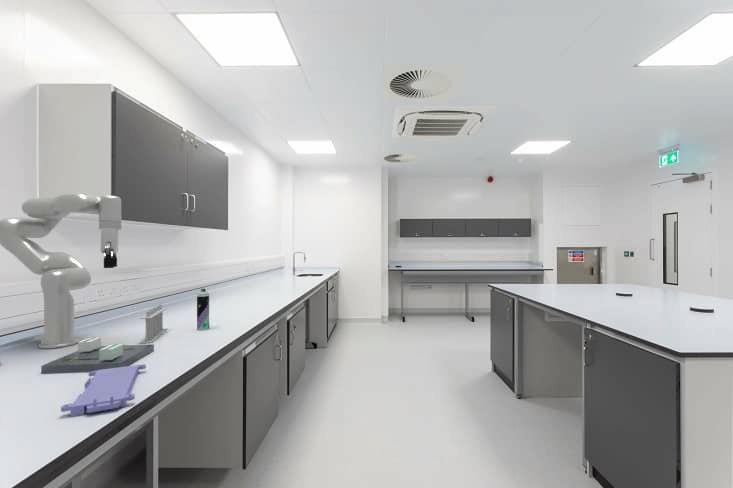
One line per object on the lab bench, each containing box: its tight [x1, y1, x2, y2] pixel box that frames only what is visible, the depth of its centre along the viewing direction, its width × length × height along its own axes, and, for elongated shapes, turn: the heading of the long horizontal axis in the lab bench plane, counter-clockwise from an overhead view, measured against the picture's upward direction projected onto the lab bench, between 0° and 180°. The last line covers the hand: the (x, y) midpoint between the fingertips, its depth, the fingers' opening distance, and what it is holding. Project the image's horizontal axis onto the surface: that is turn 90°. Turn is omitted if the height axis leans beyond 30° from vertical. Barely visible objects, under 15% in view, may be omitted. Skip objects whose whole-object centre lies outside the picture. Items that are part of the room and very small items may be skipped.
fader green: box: [99, 343, 124, 360], centre depth 121 cm, size 4×6×4 cm, turn 5°
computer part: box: [60, 363, 147, 417], centre depth 99 cm, size 30×4×15 cm
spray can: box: [196, 288, 210, 331], centre depth 174 cm, size 6×6×20 cm
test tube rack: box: [139, 303, 168, 345], centre depth 160 cm, size 25×4×13 cm, turn 16°
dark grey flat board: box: [40, 343, 155, 375], centre depth 126 cm, size 24×22×3 cm
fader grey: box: [77, 336, 102, 352], centre depth 130 cm, size 4×6×4 cm, turn 5°
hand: (110, 267), depth 145 cm, fingers open, 9 cm apart
